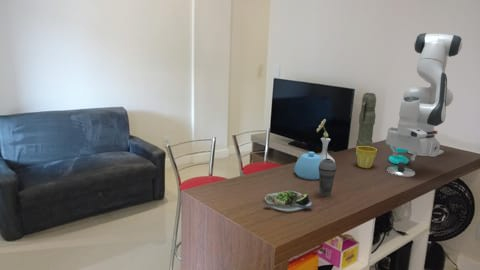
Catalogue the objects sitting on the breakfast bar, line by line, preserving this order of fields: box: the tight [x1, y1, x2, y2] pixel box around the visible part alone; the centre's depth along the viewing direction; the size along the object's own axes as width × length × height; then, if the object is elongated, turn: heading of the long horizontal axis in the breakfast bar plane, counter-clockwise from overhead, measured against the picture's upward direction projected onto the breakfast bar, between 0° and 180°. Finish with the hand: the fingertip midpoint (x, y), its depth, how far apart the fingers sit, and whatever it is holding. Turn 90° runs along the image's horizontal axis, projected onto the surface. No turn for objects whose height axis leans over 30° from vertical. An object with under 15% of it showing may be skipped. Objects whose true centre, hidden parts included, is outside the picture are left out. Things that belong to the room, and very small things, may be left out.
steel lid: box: [386, 162, 416, 178], centre depth 182 cm, size 13×13×5 cm
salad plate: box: [264, 190, 314, 213], centre depth 142 cm, size 19×18×5 cm
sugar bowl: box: [293, 151, 322, 181], centre depth 174 cm, size 15×15×12 cm
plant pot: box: [355, 146, 378, 169], centre depth 189 cm, size 10×10×10 cm
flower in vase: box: [316, 118, 336, 163], centre depth 188 cm, size 13×11×25 cm
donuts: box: [388, 145, 410, 165], centre depth 197 cm, size 10×10×10 cm
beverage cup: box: [318, 147, 337, 197], centre depth 151 cm, size 7×7×20 cm
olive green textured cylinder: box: [355, 92, 377, 148], centre depth 212 cm, size 9×12×35 cm
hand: (403, 157), depth 180 cm, fingers open, 8 cm apart
